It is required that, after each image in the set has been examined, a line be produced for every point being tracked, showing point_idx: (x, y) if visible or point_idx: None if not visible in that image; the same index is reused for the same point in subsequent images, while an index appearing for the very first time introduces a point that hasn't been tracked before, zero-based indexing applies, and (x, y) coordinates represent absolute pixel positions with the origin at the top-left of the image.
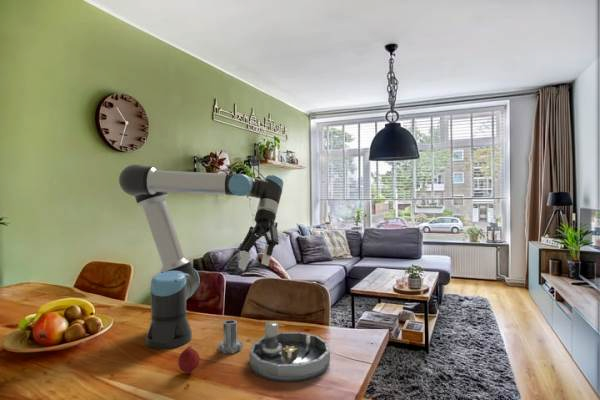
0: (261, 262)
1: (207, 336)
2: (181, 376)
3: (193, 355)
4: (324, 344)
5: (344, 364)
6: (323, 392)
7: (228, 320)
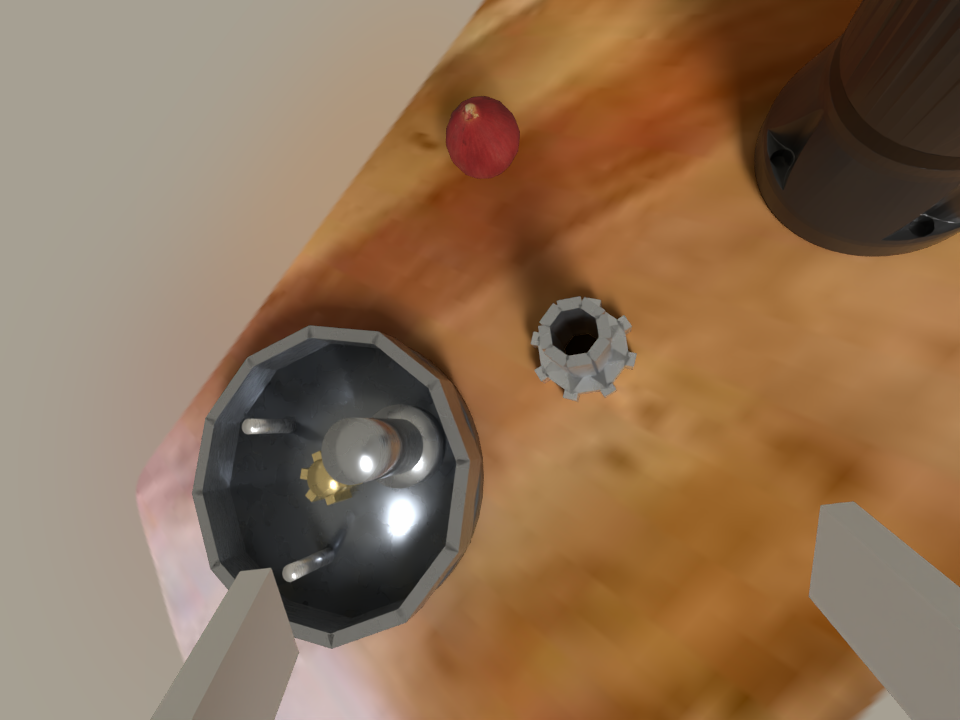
0: (265, 578)
1: (799, 323)
2: None
3: (447, 134)
4: None
5: None
6: (179, 431)
7: (602, 334)
